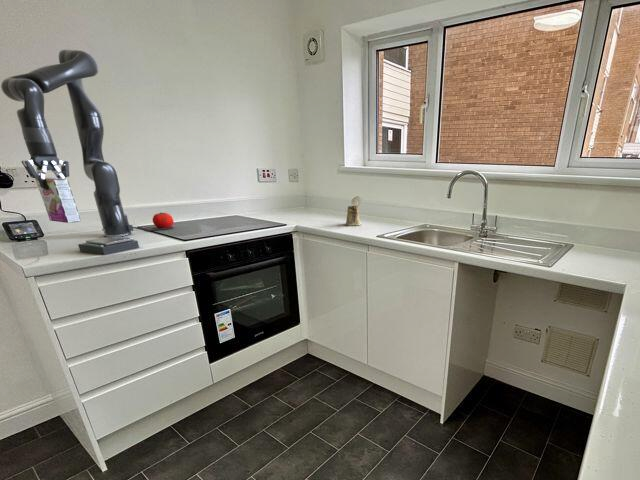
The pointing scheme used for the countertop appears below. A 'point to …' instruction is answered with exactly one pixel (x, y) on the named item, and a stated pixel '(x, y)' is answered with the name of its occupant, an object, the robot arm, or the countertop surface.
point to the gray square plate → (109, 240)
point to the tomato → (163, 220)
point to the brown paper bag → (353, 213)
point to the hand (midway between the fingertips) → (54, 189)
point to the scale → (108, 247)
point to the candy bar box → (59, 201)
